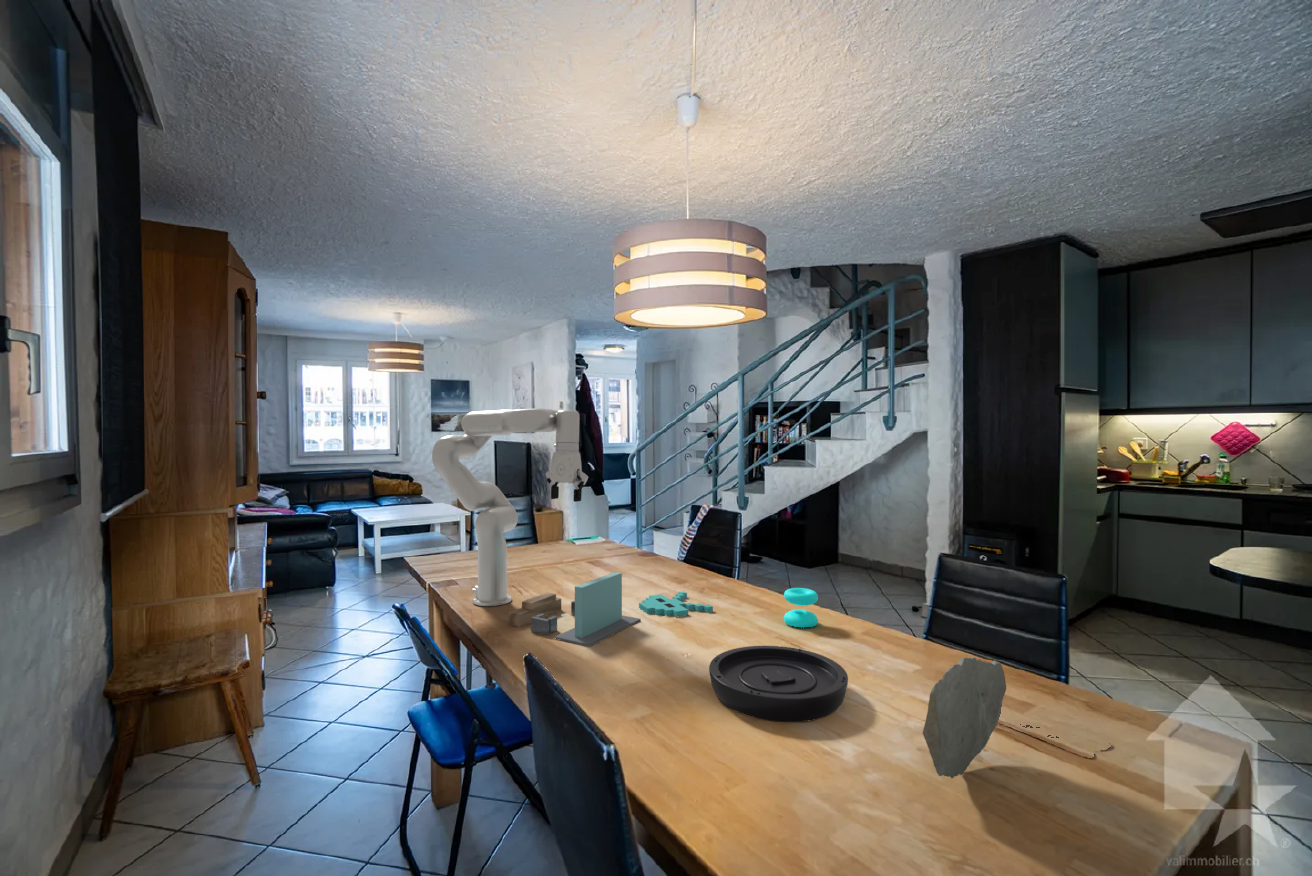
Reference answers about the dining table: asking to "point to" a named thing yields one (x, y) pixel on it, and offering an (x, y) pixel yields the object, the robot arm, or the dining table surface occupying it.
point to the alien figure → (671, 605)
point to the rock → (963, 713)
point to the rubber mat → (598, 632)
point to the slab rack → (547, 622)
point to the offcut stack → (535, 609)
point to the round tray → (778, 683)
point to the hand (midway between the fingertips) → (565, 500)
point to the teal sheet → (598, 604)
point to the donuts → (802, 598)
